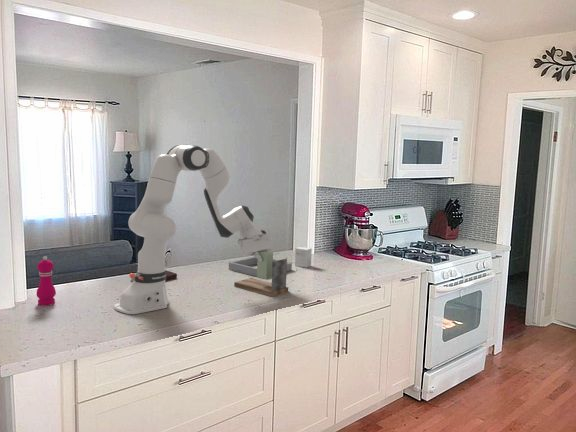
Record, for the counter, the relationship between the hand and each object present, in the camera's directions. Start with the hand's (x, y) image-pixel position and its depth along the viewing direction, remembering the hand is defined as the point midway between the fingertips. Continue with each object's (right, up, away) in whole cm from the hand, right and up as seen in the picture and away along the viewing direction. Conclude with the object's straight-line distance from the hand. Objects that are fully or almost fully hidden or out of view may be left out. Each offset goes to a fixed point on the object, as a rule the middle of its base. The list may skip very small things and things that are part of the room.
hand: (266, 259), depth 237 cm
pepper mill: (-90, -16, -30) cm, 96 cm away
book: (-57, -12, +12) cm, 59 cm away
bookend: (-3, -14, +3) cm, 15 cm away
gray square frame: (-5, -9, +41) cm, 42 cm away
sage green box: (-1, -8, +2) cm, 8 cm away
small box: (+19, -8, +54) cm, 57 cm away
